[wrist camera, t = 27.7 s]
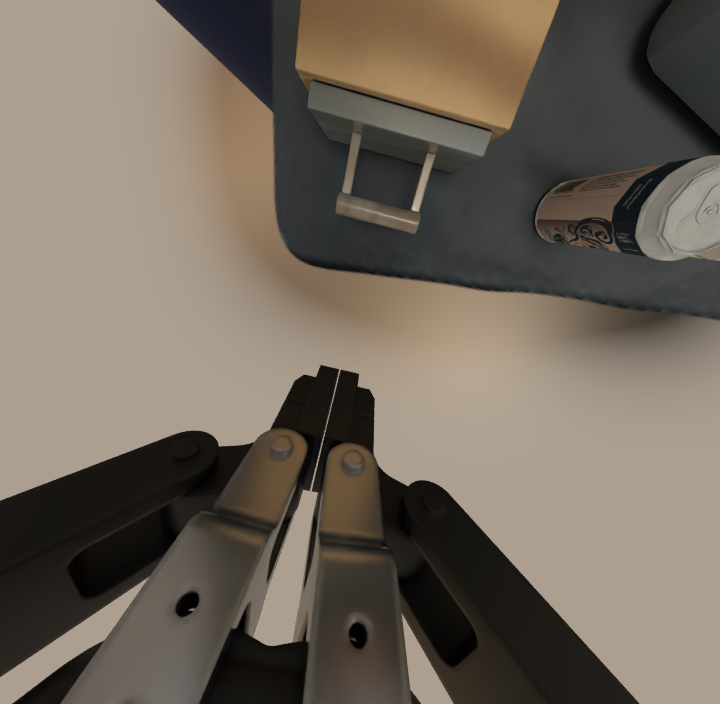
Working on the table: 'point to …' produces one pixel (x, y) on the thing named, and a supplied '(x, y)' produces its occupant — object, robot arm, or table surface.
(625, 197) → the beer can
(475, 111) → the cabinet
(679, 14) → the toaster
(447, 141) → the drawer
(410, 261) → the table surface
